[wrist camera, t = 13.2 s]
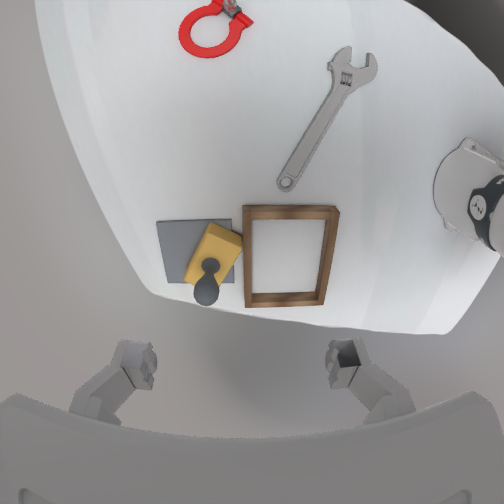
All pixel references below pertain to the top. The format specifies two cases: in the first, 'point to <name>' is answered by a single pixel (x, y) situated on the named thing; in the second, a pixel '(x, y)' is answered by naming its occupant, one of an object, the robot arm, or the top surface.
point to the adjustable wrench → (328, 111)
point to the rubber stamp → (212, 262)
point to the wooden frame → (329, 240)
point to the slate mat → (184, 245)
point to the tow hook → (225, 3)
